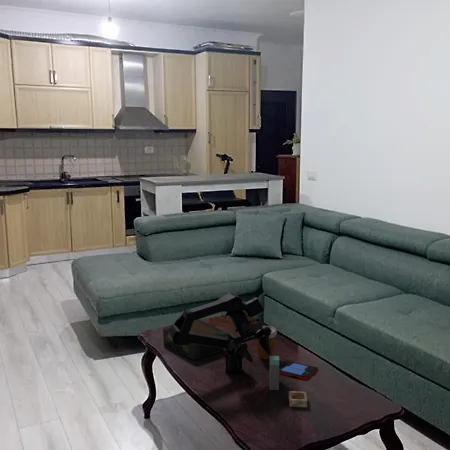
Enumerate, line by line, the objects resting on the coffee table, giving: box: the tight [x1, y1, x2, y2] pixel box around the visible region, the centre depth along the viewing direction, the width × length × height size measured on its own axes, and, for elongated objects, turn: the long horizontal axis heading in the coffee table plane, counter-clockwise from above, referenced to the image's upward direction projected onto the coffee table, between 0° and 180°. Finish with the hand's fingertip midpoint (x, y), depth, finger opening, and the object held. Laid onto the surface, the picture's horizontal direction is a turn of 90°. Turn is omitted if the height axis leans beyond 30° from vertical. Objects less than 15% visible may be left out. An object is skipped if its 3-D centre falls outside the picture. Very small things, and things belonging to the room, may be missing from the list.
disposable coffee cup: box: [255, 325, 278, 360], centre depth 212 cm, size 10×10×12 cm
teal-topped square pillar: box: [269, 355, 280, 391], centre depth 184 cm, size 3×3×12 cm
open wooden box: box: [288, 390, 308, 408], centre depth 175 cm, size 6×6×3 cm
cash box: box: [162, 319, 229, 361], centre depth 224 cm, size 25×20×8 cm
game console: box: [279, 359, 319, 381], centre depth 199 cm, size 14×13×2 cm
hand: (261, 358), depth 190 cm, fingers open, 9 cm apart
